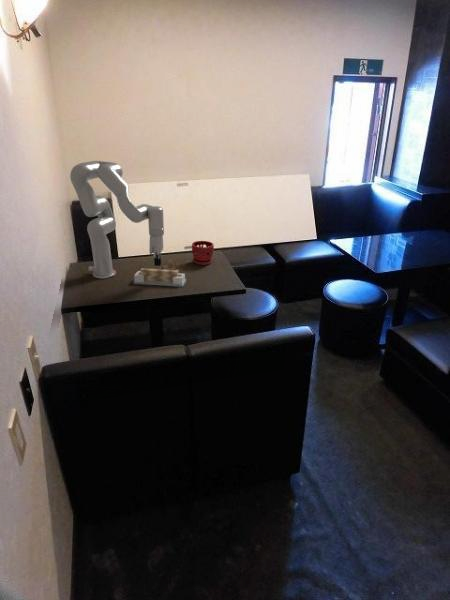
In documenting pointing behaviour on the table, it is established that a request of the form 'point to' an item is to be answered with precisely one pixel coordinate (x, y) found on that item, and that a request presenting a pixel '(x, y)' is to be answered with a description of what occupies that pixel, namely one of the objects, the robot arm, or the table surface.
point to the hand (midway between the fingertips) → (157, 265)
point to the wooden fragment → (172, 265)
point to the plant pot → (202, 252)
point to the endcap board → (176, 281)
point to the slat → (159, 274)
